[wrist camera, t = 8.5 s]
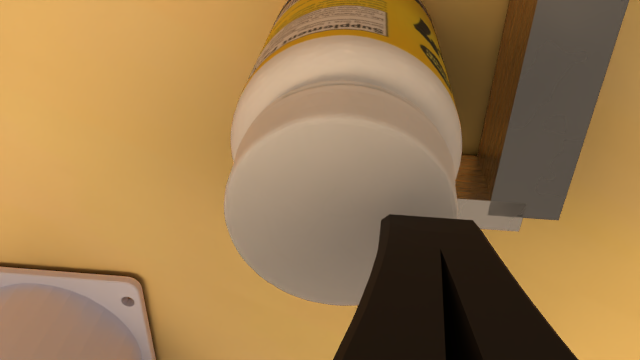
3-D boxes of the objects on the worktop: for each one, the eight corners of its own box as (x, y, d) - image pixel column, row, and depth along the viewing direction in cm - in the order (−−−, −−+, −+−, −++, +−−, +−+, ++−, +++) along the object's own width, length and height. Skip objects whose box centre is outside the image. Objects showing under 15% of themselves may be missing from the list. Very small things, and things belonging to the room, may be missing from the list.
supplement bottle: (439, 115, 18) (482, 320, 11) (288, 129, 18) (234, 330, 11) (433, -49, 15) (483, 79, 8) (258, -25, 16) (163, 110, 9)
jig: (533, 186, 19) (554, 233, 17) (401, 177, 19) (404, 223, 17) (616, -108, 14) (659, -93, 12) (438, -115, 14) (449, -101, 12)
